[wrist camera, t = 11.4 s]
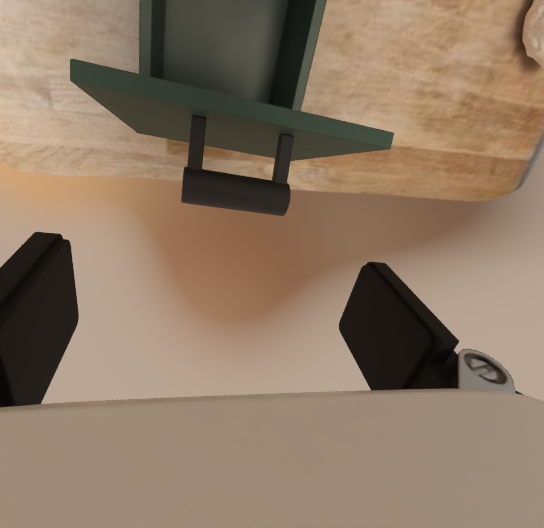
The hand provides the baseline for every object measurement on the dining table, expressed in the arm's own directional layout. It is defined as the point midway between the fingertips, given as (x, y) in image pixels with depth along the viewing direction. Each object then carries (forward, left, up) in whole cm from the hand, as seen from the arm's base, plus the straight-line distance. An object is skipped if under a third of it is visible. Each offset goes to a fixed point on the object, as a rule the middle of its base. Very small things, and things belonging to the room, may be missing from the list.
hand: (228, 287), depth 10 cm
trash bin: (-7, +4, -36) cm, 36 cm away
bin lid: (-2, +2, -15) cm, 15 cm away
